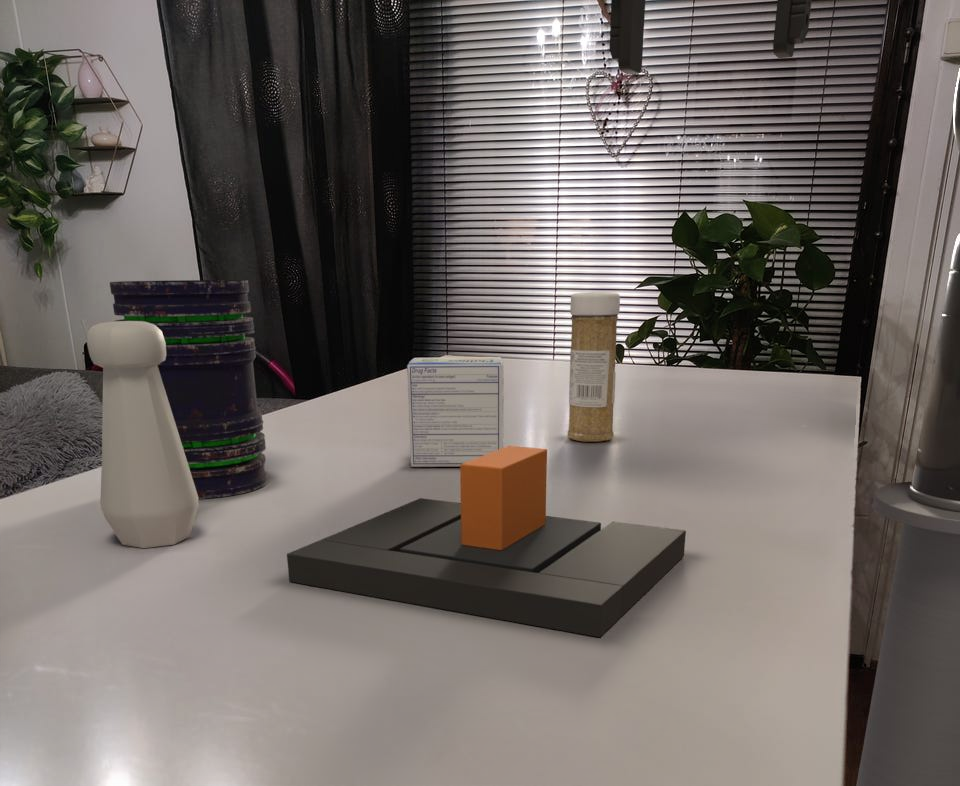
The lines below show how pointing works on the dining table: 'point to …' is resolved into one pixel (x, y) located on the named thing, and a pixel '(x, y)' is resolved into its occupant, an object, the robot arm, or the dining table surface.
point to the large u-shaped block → (492, 571)
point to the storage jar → (206, 376)
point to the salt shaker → (140, 439)
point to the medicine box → (455, 409)
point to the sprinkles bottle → (592, 365)
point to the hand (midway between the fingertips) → (703, 64)
